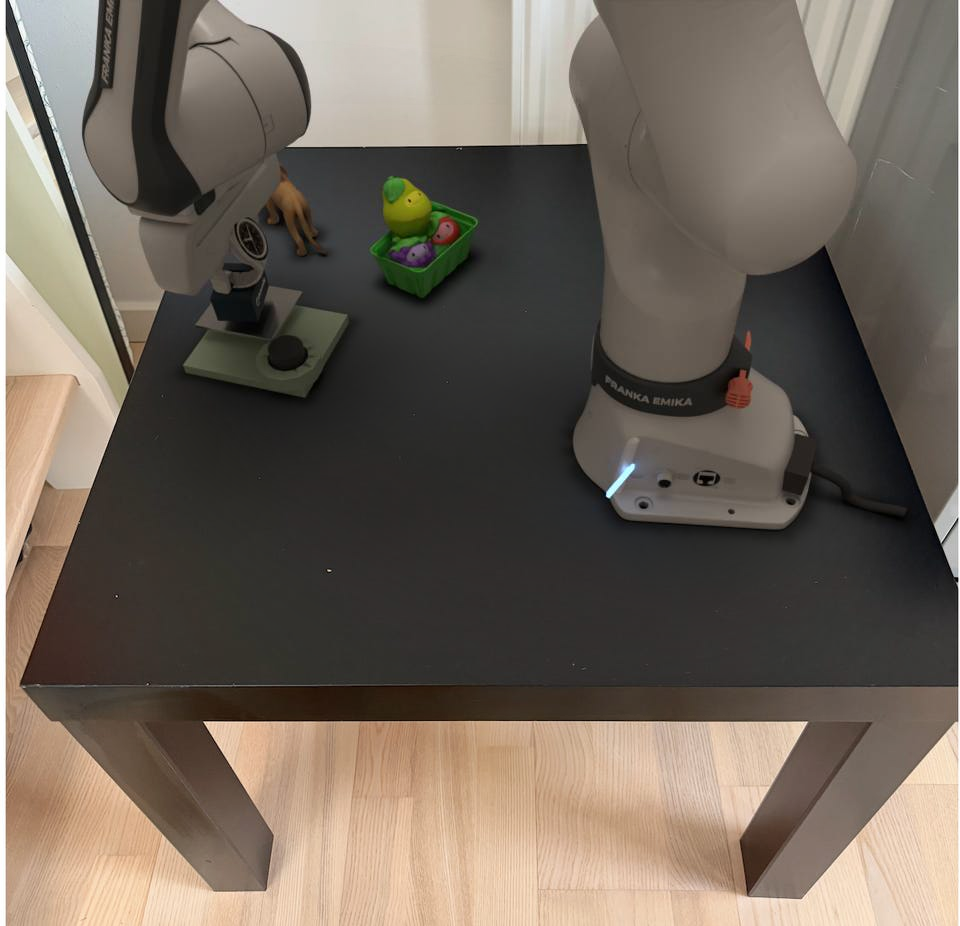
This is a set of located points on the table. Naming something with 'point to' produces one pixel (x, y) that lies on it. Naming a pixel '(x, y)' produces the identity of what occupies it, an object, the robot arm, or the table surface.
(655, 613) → the table surface
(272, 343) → the knob
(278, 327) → the weigh plate
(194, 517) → the table surface
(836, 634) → the table surface
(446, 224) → the fruit basket
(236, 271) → the watch
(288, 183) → the lion figurine
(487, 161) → the table surface
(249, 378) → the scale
